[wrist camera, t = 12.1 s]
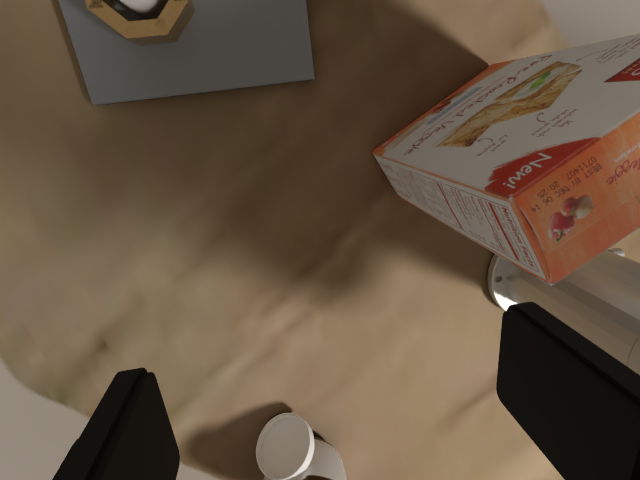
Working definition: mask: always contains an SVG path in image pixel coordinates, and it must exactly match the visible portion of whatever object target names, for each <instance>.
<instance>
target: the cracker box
mask: <svg viewBox="0 0 640 480" xmlns="http://www.w3.org/2000/svg"><path fill="white" fill-rule="evenodd" d="M372 153H373V155H374V157H375V158H376V160H377V162H378V163H379V165H380V167H381V168H382V170H383V172H384V173H385V175H386V177H387V178H388V180H389V182H390V183H391V185H392V187H393V188H394V190H395V192H396V193H397V195H398V196H399V197H400V198H402V199H403V200H405V201H407V202H408V203H410V204H412V205H413V206H415V207H417V208H418V209H420V210H422V211H423V212H425V213H427V214H428V215H430V216H432V217H433V218H435V219H437V220H438V221H440V222H442V223H444V224H445V225H447V226H449V227H450V228H452V229H454V230H455V231H457V232H459V233H461V234H462V235H464V236H466V237H467V238H469V239H471V240H472V241H474V242H476V243H478V244H479V245H481V246H483V247H484V248H486V249H488V250H490V251H491V252H493V253H495V254H496V255H498V256H500V257H502V258H503V259H505V260H507V261H508V262H510V263H512V264H514V265H515V266H517V267H519V268H521V269H522V270H524V271H526V272H527V273H529V274H531V275H533V276H534V277H536V278H538V279H539V280H541V281H542V282H544V283H546V284H547V285H550V286H552V285H554V284H556V283H557V282H559V281H560V280H562V279H563V278H565V277H566V276H568V275H569V274H571V273H572V272H574V271H575V270H577V269H578V268H580V267H581V266H583V265H584V264H586V263H587V262H589V261H590V260H592V259H593V258H595V257H596V256H598V255H599V254H601V253H602V252H604V251H605V250H607V249H608V248H610V247H611V246H613V245H614V244H616V243H617V242H619V241H620V240H622V239H623V238H625V237H626V236H628V235H629V234H631V233H632V232H634V231H635V230H637V229H638V228H640V34H636V35H631V36H626V37H621V38H616V39H612V40H607V41H602V42H598V43H592V44H588V45H583V46H578V47H573V48H568V49H563V50H558V51H554V52H550V53H545V54H540V55H535V56H531V57H526V58H521V59H516V60H511V61H506V62H502V63H497V64H493V65H490V66H489V67H488V68H487V69H485V70H484V71H482V72H481V73H480V74H478V75H477V76H476V77H474V78H473V79H471V80H470V81H469V82H467V83H466V84H464V85H463V86H462V87H460V88H459V89H458V90H456V91H455V92H453V93H452V94H451V95H449V96H448V97H446V98H445V99H444V100H442V101H441V102H440V103H438V104H437V105H435V106H434V107H433V108H431V109H430V110H428V111H427V112H426V113H424V114H423V115H421V116H420V117H419V118H417V119H416V120H414V121H413V122H412V123H410V124H409V125H408V126H406V127H405V128H403V129H402V130H401V131H399V132H398V133H396V134H395V135H394V136H392V137H391V138H389V139H388V140H387V141H385V142H384V143H383V144H381V145H380V146H378V147H377V148H376V149H374V150H373V151H372Z"/></svg>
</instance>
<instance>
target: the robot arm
mask: <svg viewBox="0 0 640 480" xmlns="http://www.w3.org/2000/svg"><path fill="white" fill-rule="evenodd" d="M624 256H625V254H624V251H623V250H622V249H620V248H614V249H609V250H605V251H604V252H602V253H601V254H599V255H598V256H596V257H595V258H593V259H592V260H590V261H589V262H587V263H586V264H584V265H583V266H581V267H580V268H578V269H577V270H575V271H574V272H572V273H571V274H569V275H568V276H566V277H565V278H563V279H562V280H560V281H559V282H557V283H556V284H554V285H552V286H550V285H547V284H546V283H544V282H542V281H541V280H539V279H538V278H536V277H534V276H533V275H531V274H529V273H527V272H526V271H524V270H522V269H521V268H519V267H517V266H515V265H514V264H512V263H510V262H508V261H507V260H505V259H503V258H502V257H500V256H498V255H496V254H495V253H494V255H493V258H492V260H491V263H490V266H489V269H488V278H487V280H488V289H489V292H490V295H491V297H492V298H493V300H494V302H495V303H496V304H497V305H498V306H499V307H500V308H502V309H503V310H505V312H504V313H503V317H502V329H501V340H500V352H499V363H498V375H497V387H496V390H497V394H498V397H499V399H500V401H501V402H502V404H503V405H504V406H505V407H506V409H507V410H508V411H509V412H510V414H511V415H512V416H513V417H514V418H515V420H516V421H517V422H518V423H519V424H520V426H521V427H522V428H523V429H524V431H525V432H526V433H527V434H528V435H529V437H530V438H531V439H532V440H533V441H534V443H535V444H536V445H537V446H538V448H539V449H540V450H541V451H542V452H543V454H544V455H545V456H546V457H547V458H548V460H549V461H550V462H551V463H552V465H553V466H554V467H555V468H556V469H557V471H558V472H559V473H560V474H561V475H562V477H563V478H564V479H565V480H640V263H638V262H636V261H633V260H630V259H628V258H625V257H624ZM179 461H180V456H179V449H178V446H177V443H176V440H175V437H174V434H173V430H172V427H171V424H170V421H169V418H168V415H167V412H166V408H165V405H164V402H163V399H162V396H161V393H160V389H159V386H158V383H157V380H156V377H155V375H154V373H153V372H150V373H148V372H147V370H146V369H145V368H138V369H132V370H126V371H120V372H118V373H117V374H116V375H115V377H114V379H113V380H112V382H111V384H110V386H109V387H108V389H107V391H106V393H105V394H104V396H103V398H102V399H101V401H100V403H99V405H98V406H97V408H96V410H95V411H94V413H93V415H92V417H91V418H90V420H89V422H88V424H87V425H86V427H85V429H84V430H83V432H82V434H81V436H80V437H79V439H77V440H76V442H75V443H74V444H73V446H72V447H71V449H70V451H69V452H68V454H67V456H66V458H65V459H64V461H63V462H62V464H61V466H60V468H59V470H58V471H57V473H56V474H55V476H54V478H53V479H52V480H176V476H177V472H178V468H179Z"/></svg>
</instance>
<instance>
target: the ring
mask: <svg viewBox="0 0 640 480" xmlns="http://www.w3.org/2000/svg"><path fill="white" fill-rule="evenodd" d="M85 2H86V5H87V9H89V10H90V11H91V12H92V13H94V14H95V15H96V16H98V17H99V18H100V19H102V20H103V21H104V22H106V23H107V24H108V25H110V26H111V27H112V28H114V29H115V30H116V31H117V32H119V33H120V34H121V35H123V36H124V37H125V38H127V39H128V40H130V41H132V42H134V43H135V44H137V45H139V46H143V45H154V44H164V43H174V42H176V41H177V40H178V38H179V37H180V35H181V33H182V32H183V30H184V29H185V27H186V25H187V24H188V22H189V21H190V19H191V17H192V16H193V14H194V13H195V8H194V3H193V0H168V2H167V4H166V5H165V7H164V9H163V10H162V12H161V14H160V15H159V17H158V19H150V20H139V21H128V20H127V19H126V18H124V17H123V16H122V15H121V14H119V13H118V12H117V9H116V6H115V2H114V0H85Z"/></svg>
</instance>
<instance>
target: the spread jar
mask: <svg viewBox="0 0 640 480" xmlns="http://www.w3.org/2000/svg"><path fill="white" fill-rule="evenodd" d="M256 459H257V463H258V466H259V468H260V470H261V471H262V473H263V474H264V480H347V477H346V474H345V470H344V466H343V462H342V459H341V457H340V455H339V453H338V451H337V450H336V449H335V448H334V447H333V446H332V445H331V444H329V443H328V442H326V441H324V440H323V439H320V438H318V437H315V436H314V435H313V432H312V429H311V428H310V426H309V424H308V423H307V422H306V421H305V420H303V419H302V418H301V417H300V416H298V415H296V414H294V413H282V414H279V415H277V416H275V417H274V418H272V419H271V420H270V421H269V422H268V423H267V424H266V425H265V426H264V428H263V429H262V431H261V433H260V435H259V438H258V441H257V446H256Z"/></svg>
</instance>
